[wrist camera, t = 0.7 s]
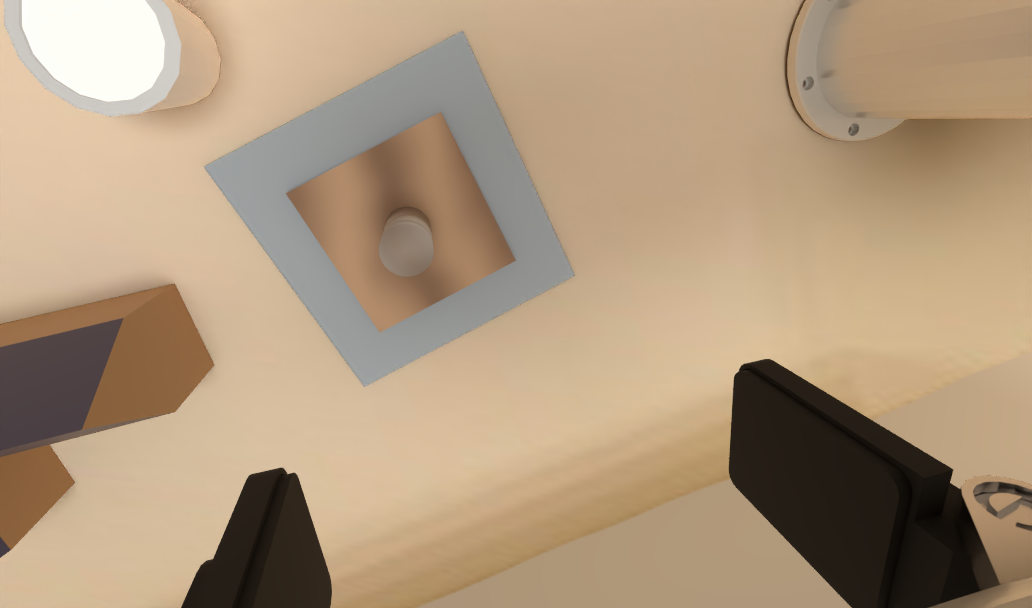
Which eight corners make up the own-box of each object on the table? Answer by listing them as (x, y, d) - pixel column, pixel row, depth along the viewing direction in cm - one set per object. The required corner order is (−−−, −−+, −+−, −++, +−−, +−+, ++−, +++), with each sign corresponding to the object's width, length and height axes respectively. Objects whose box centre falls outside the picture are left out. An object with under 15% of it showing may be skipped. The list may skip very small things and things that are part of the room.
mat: (462, 31, 31) (462, 30, 30) (573, 274, 38) (574, 275, 37) (206, 166, 31) (203, 166, 30) (364, 384, 38) (364, 386, 37)
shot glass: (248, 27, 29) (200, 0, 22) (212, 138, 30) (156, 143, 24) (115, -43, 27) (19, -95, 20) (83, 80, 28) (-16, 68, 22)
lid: (440, 112, 32) (446, 109, 26) (514, 257, 36) (534, 286, 30) (288, 191, 32) (257, 209, 25) (380, 328, 36) (372, 371, 30)
